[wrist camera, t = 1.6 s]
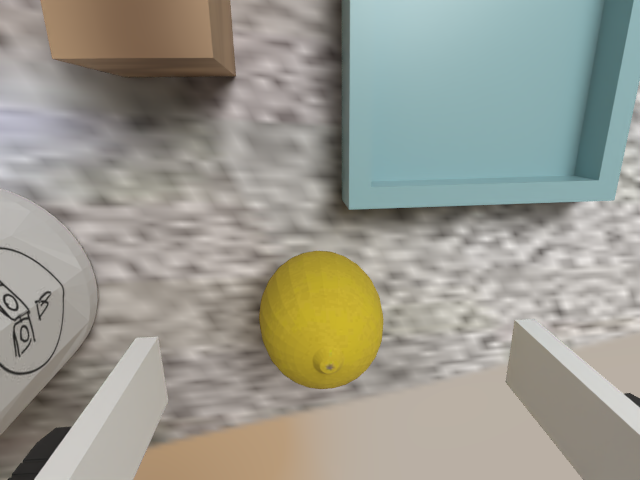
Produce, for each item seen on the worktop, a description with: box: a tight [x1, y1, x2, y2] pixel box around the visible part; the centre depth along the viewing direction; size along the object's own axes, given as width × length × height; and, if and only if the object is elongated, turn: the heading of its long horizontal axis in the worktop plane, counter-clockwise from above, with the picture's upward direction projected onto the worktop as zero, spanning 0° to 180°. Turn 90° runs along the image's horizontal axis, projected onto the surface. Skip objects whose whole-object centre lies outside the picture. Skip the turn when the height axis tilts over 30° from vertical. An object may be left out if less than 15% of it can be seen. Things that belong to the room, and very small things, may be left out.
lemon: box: [259, 251, 383, 389], centre depth 18 cm, size 6×6×8 cm
